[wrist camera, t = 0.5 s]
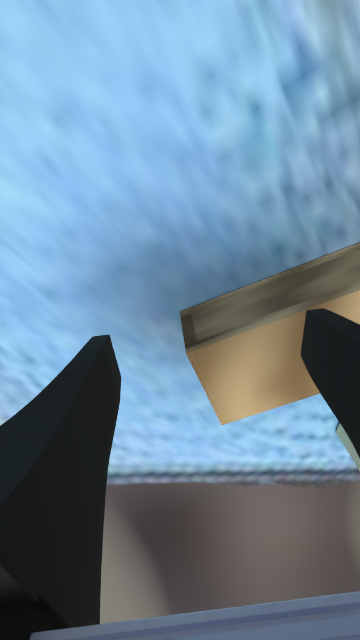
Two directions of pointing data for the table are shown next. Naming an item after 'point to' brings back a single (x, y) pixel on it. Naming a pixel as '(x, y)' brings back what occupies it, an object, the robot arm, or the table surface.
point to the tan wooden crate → (267, 334)
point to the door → (348, 445)
